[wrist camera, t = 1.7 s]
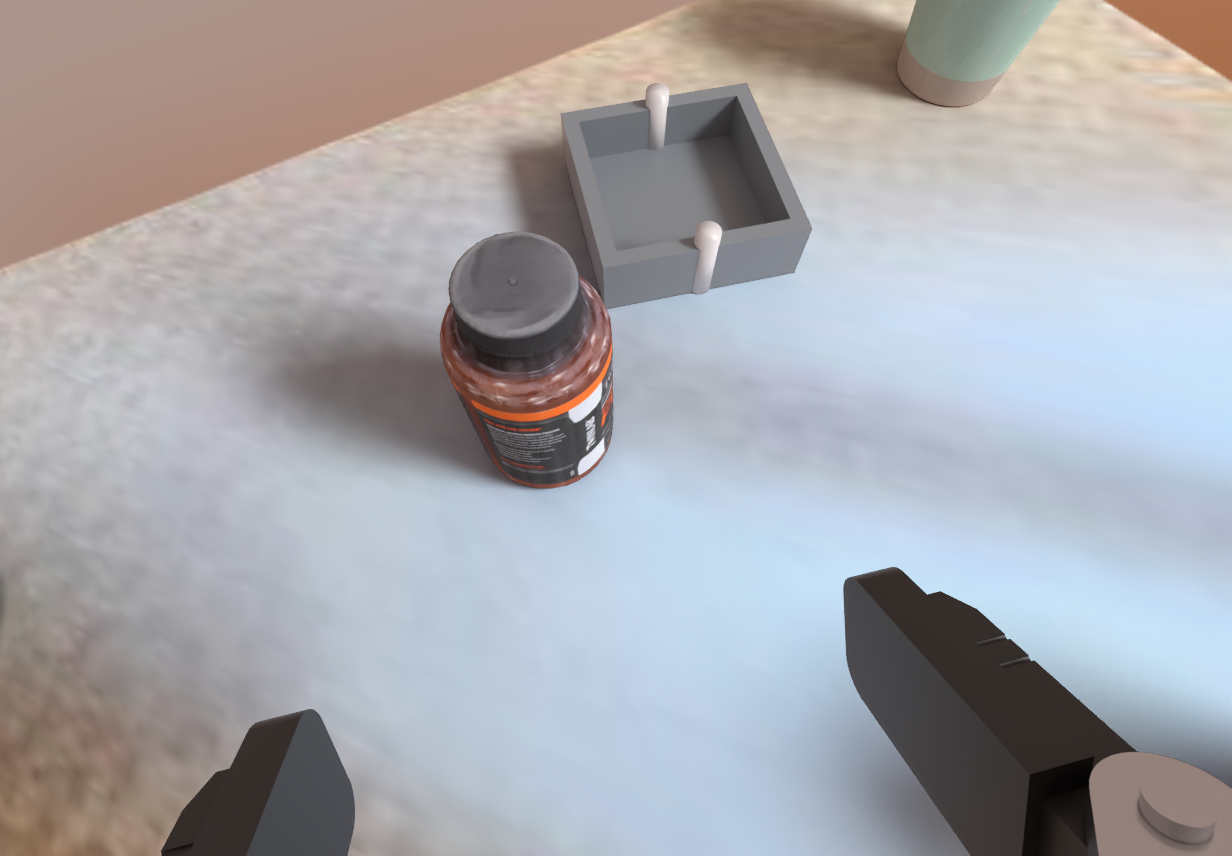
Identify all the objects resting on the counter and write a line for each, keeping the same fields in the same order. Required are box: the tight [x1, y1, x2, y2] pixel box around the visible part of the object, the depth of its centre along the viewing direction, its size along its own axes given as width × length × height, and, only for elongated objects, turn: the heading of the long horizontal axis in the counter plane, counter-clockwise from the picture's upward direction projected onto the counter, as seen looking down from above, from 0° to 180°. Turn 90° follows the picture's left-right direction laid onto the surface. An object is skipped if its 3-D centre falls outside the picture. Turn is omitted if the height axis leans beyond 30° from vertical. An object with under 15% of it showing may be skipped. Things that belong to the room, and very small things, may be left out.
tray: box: [561, 83, 812, 309], centre depth 33 cm, size 10×10×4 cm
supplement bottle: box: [440, 232, 613, 488], centre depth 24 cm, size 6×6×11 cm
